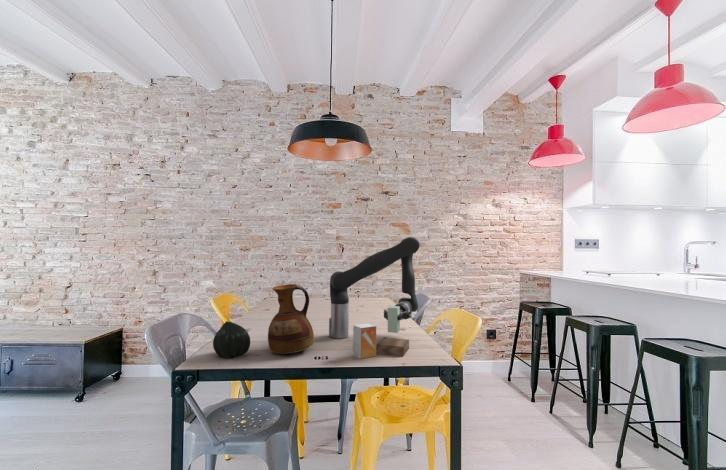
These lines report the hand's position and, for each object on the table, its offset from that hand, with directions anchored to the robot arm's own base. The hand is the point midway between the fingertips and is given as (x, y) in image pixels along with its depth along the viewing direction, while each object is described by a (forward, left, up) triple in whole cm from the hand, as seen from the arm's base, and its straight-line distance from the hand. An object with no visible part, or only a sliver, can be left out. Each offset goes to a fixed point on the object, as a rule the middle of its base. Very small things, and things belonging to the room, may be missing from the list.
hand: (392, 317), depth 164 cm
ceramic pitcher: (-43, -14, -15) cm, 48 cm away
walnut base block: (0, +2, -15) cm, 15 cm away
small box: (-10, -9, -15) cm, 20 cm away
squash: (-64, -28, -15) cm, 72 cm away
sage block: (0, +2, -6) cm, 7 cm away
